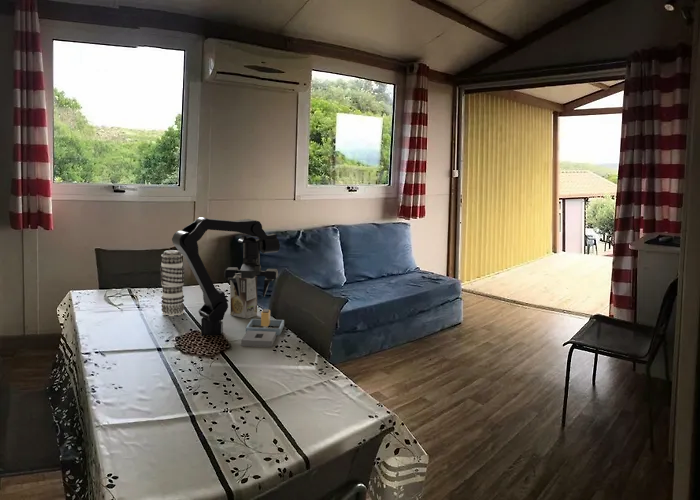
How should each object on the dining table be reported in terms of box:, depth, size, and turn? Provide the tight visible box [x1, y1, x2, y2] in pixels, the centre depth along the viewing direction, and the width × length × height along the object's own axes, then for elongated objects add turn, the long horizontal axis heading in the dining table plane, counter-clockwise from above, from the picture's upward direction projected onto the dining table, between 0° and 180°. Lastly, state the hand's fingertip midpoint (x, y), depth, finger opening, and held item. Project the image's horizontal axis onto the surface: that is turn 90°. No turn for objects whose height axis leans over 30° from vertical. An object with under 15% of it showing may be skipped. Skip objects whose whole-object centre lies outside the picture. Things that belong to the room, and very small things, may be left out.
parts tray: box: [245, 318, 285, 336], centre depth 195 cm, size 12×11×3 cm
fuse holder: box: [240, 331, 277, 348], centre depth 182 cm, size 10×10×3 cm
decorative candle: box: [159, 249, 185, 317], centre depth 212 cm, size 9×9×25 cm
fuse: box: [260, 308, 271, 328], centre depth 195 cm, size 3×4×7 cm, turn 0°
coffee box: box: [229, 275, 258, 320], centre depth 214 cm, size 9×6×16 cm
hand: (251, 296), depth 197 cm, fingers open, 9 cm apart
